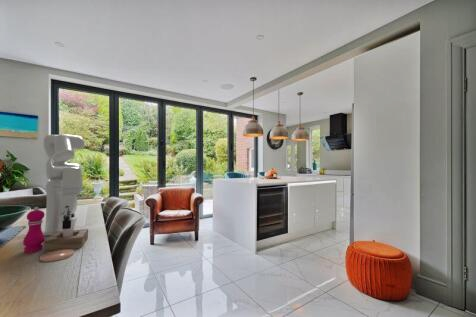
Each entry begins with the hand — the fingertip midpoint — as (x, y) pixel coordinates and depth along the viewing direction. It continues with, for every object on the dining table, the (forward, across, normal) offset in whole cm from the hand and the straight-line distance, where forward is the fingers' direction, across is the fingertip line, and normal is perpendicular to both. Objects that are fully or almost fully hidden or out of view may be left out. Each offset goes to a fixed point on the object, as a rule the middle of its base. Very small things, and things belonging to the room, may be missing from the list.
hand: (68, 226), depth 105 cm
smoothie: (+6, 0, 0) cm, 6 cm away
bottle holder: (+9, +1, 0) cm, 9 cm away
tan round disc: (+9, +17, 0) cm, 19 cm away
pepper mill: (+9, +3, -12) cm, 15 cm away
